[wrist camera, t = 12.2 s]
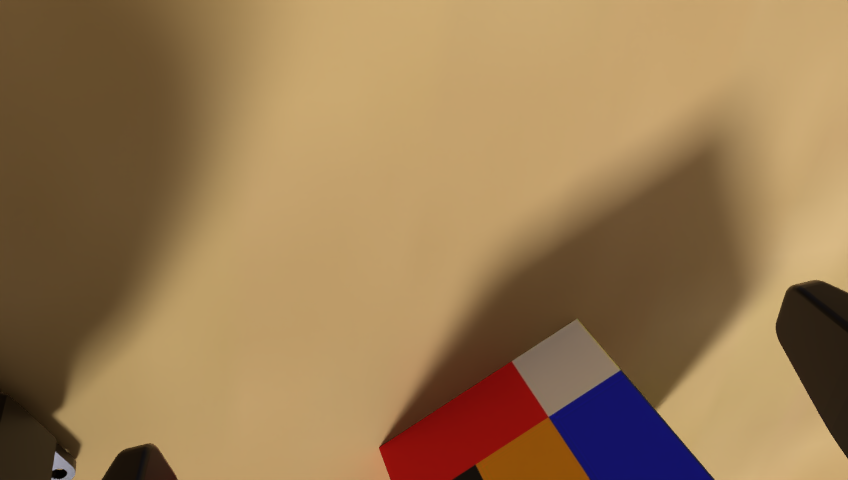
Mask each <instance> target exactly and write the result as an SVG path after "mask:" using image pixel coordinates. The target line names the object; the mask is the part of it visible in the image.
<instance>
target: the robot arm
mask: <svg viewBox="0 0 848 480" xmlns="http://www.w3.org/2000/svg"><path fill="white" fill-rule="evenodd" d="M776 333H777V337H778V340H779V342H780V344H781V345H782V347H783V349H784V351H785V353H786V355H787V356H788V358H789V360H790V362H791V364H792V365H793V367H794V369H795V371H796V373H797V375H798V376H799V378H800V380H801V382H802V384H803V385H804V387H805V389H806V391H807V393H808V394H809V396H810V398H811V400H812V402H813V404H814V405H815V407H816V409H817V411H818V413H819V414H820V416H821V418H822V420H823V421H824V423H825V425H826V426H827V428H828V430H829V432H830V433H831V435H832V436H833V438H834V439H835V441H836V442H837V444H838V445H839V447H840V448H841V450H842V451H843V452H844V454H845V455H846V457H847V458H848V293H847V292H845V291H843V290H841V289H839V288H837V287H834V286H832V285H830V284H828V283H826V282H823V281H819V280H813V281H808V282H804V283H800V284H796V285H792V286H791V287H789V288H788V289H787V291H786V293H785V296H784V299H783V302H782V306H781V309H780V312H779V315H778V318H777V321H776ZM55 469H63V470H55ZM75 471H76V460H75V459H74V458H73V457H72V456H71V455H70V454H69V453H68V452H67V451H66V450H65V449H63V448H62V447H61V446H60V445H59V444H58V443H57V440H56V438H55V437H54V436H53V435H52V434H51V433H50V432H49V431H48V430H47V429H45V428H44V427H43V426H42V425H41V424H40V423H39V422H38V421H37V420H36V419H34V418H33V417H32V416H31V415H30V414H29V413H28V412H27V411H26V410H25V409H24V408H22V407H21V406H20V405H19V404H18V403H17V402H16V401H15V400H14V399H13V398H11V397H10V396H9V395H7V394H4V393H2V392H1V391H0V480H71V479H73V477H74V476H75ZM102 480H177V477H176V475H175V473H174V472H173V470H172V469H171V467H170V466H169V464H168V462H167V461H166V459H165V458H164V456H163V455H162V453H161V452H160V450H159V449H158V448H157V447H156V446H155V445H154V444H151V443H149V444H144V445H140V446H136V447H132V448H127V449H125V450H123V451H121V452H120V453H119V454H118V455H117V457H116V458H115V459H114V461H113V463H112V464H111V466H110V467H109V469H108V471H107V472H106V474H105V475H104V477H103V478H102Z"/></svg>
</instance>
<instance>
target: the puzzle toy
mask: <svg viewBox="0 0 848 480" xmlns="http://www.w3.org/2000/svg"><path fill="white" fill-rule="evenodd" d="M379 449H380V452H381V455H382V457H383V460H384V463H385V466H386V468H387V471H388V474H389V477H390V479H391V480H714V478H713V477H712V476H711V475H710V474H709V473H708V471H707V470H706V469H705V468H704V467H703V465H702V464H701V463H700V462H699V461H698V460H697V458H696V457H695V456H694V455H693V454H692V453H691V451H690V450H689V449H688V448H687V447H686V445H685V444H684V443H683V442H682V441H681V440H680V438H679V437H678V436H677V435H676V434H675V433H674V431H673V430H672V429H671V428H670V427H669V426H668V424H667V423H666V422H665V421H664V420H663V418H662V417H661V416H660V415H659V414H658V413H657V411H656V410H655V409H654V408H653V407H652V406H651V404H650V403H649V402H648V401H647V400H646V399H645V397H644V396H643V395H642V394H641V393H640V391H639V390H638V389H637V388H636V387H635V386H634V384H633V383H632V382H631V381H630V380H629V379H628V377H627V376H626V375H625V374H624V373H623V372H622V370H621V369H620V368H619V367H618V366H617V364H616V363H615V362H614V361H613V360H612V359H611V357H610V356H609V355H608V354H607V353H606V352H605V350H604V349H603V348H602V347H601V346H600V344H599V343H598V342H597V341H596V340H595V339H594V337H593V336H592V335H591V334H590V333H589V332H588V330H587V329H586V328H585V327H584V326H583V325H582V323H581V322H580V321H579V320H578V319H576V320H574V321H573V322H571V323H570V324H568V325H566V326H565V327H563V328H562V329H560V330H559V331H557V332H556V333H554V334H553V335H551V336H550V337H548V338H546V339H545V340H543V341H542V342H540V343H539V344H537V345H536V346H534V347H533V348H531V349H530V350H528V351H527V352H525V353H523V354H522V355H520V356H519V357H517V358H516V359H514V360H513V361H511V362H510V363H508V364H507V365H505V366H503V367H502V368H500V369H499V370H497V371H496V372H494V373H493V374H491V375H490V376H488V377H487V378H485V379H484V380H482V381H480V382H479V383H477V384H476V385H474V386H473V387H471V388H470V389H468V390H467V391H465V392H464V393H462V394H460V395H459V396H457V397H456V398H454V399H453V400H451V401H450V402H448V403H447V404H445V405H444V406H442V407H441V408H439V409H437V410H436V411H434V412H433V413H431V414H430V415H428V416H427V417H425V418H424V419H422V420H421V421H419V422H417V423H416V424H414V425H413V426H411V427H410V428H408V429H407V430H405V431H404V432H402V433H401V434H399V435H398V436H396V437H394V438H393V439H391V440H390V441H388V442H387V443H385V444H384V445H382V446H381V447H379Z"/></svg>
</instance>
